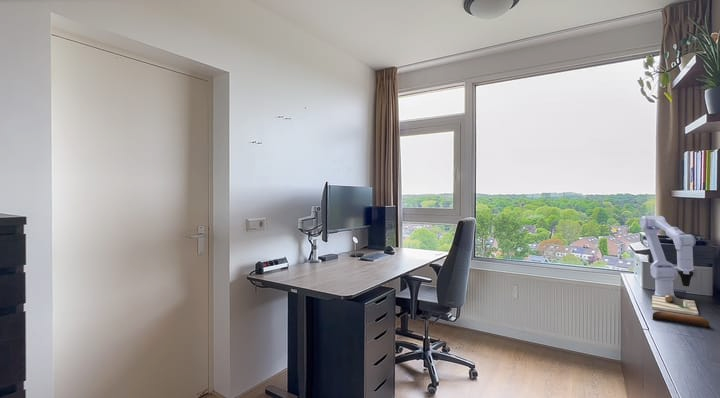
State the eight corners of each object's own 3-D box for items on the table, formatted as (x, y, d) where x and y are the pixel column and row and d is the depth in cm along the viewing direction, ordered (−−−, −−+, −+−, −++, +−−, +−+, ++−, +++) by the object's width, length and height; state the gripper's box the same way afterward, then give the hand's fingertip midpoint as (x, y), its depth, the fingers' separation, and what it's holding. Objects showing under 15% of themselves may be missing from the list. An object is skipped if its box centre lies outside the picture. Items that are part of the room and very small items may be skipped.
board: (652, 297, 181) (652, 295, 181) (694, 303, 170) (694, 300, 170) (652, 308, 164) (652, 306, 164) (698, 315, 154) (698, 312, 154)
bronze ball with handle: (663, 300, 172) (662, 294, 172) (671, 300, 171) (671, 294, 171) (682, 307, 160) (681, 301, 160) (691, 307, 160) (690, 301, 160)
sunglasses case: (707, 322, 145) (708, 311, 143) (709, 335, 140) (710, 324, 138) (652, 314, 157) (651, 304, 154) (652, 326, 152) (652, 315, 150)
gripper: (673, 255, 177) (674, 281, 177) (674, 260, 166) (675, 287, 166) (692, 257, 172) (693, 283, 172) (694, 261, 161) (695, 290, 161)
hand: (685, 285), depth 168 cm, fingers closed
